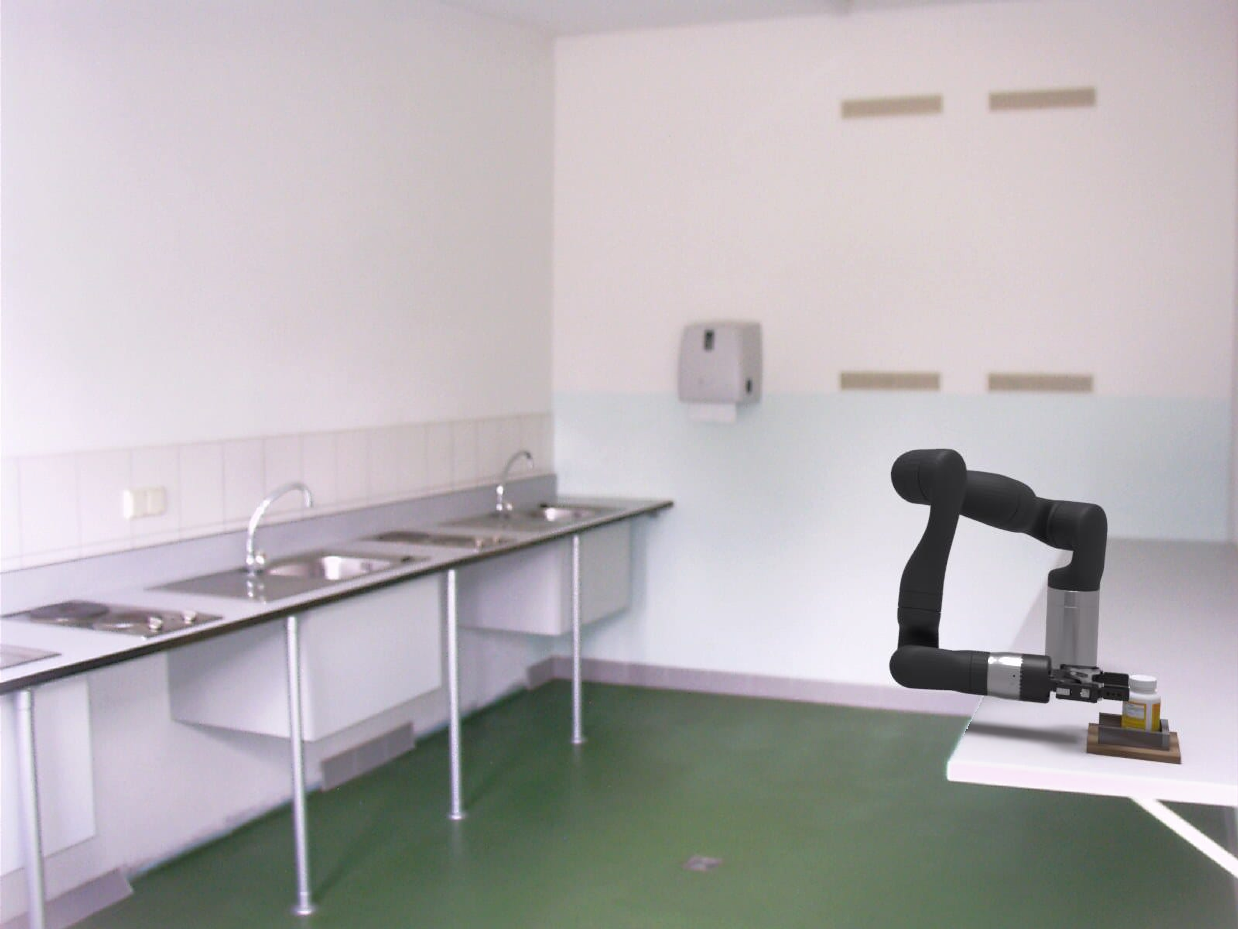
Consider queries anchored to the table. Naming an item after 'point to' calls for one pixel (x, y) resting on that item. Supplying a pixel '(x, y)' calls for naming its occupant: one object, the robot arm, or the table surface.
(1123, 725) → the supplement bottle
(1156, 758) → the u holder
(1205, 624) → the table surface
